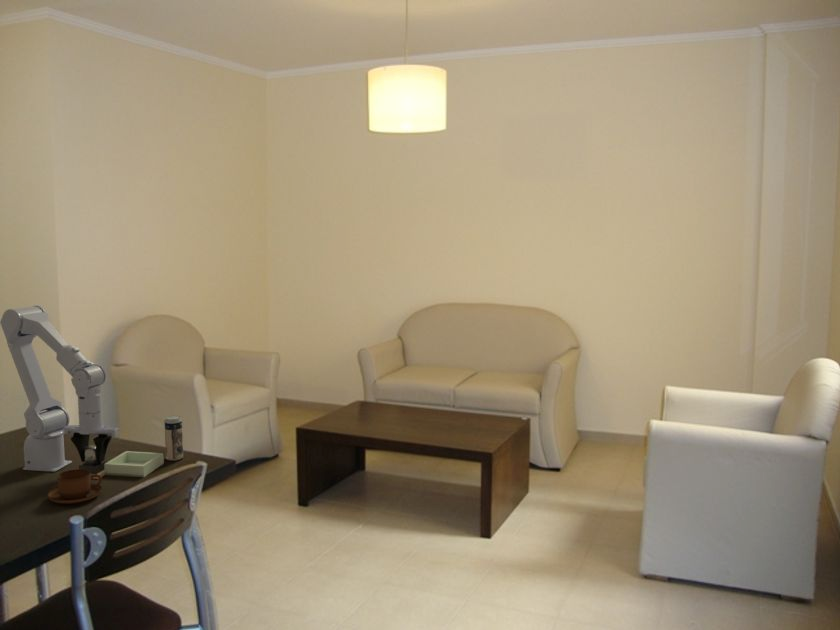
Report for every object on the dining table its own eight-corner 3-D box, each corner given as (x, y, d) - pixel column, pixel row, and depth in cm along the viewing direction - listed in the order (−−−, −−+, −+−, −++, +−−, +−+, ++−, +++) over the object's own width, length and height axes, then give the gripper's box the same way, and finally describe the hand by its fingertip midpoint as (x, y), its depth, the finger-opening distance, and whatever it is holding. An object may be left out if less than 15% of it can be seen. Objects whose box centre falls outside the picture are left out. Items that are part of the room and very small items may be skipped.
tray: (104, 474, 199) (104, 464, 199) (126, 461, 210) (126, 451, 210) (143, 477, 198) (143, 466, 197) (163, 463, 209) (163, 453, 208)
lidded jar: (177, 462, 210) (176, 420, 208) (162, 460, 211) (160, 419, 209) (186, 456, 215) (185, 415, 213) (171, 455, 216) (169, 414, 214)
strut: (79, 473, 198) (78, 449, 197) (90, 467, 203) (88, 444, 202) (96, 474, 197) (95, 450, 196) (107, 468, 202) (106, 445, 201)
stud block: (73, 477, 197) (73, 466, 197) (88, 468, 204) (88, 458, 204) (98, 478, 196) (97, 468, 196) (113, 469, 203) (112, 459, 203)
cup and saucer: (87, 486, 192) (85, 462, 191) (111, 497, 184) (110, 473, 183) (39, 499, 182) (37, 475, 182) (62, 512, 175) (61, 486, 174)
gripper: (55, 414, 195) (58, 464, 197) (107, 416, 193) (110, 467, 195) (71, 407, 202) (74, 456, 204) (122, 409, 200) (124, 458, 202)
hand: (92, 461), depth 200 cm, fingers closed on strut, 4 cm apart
